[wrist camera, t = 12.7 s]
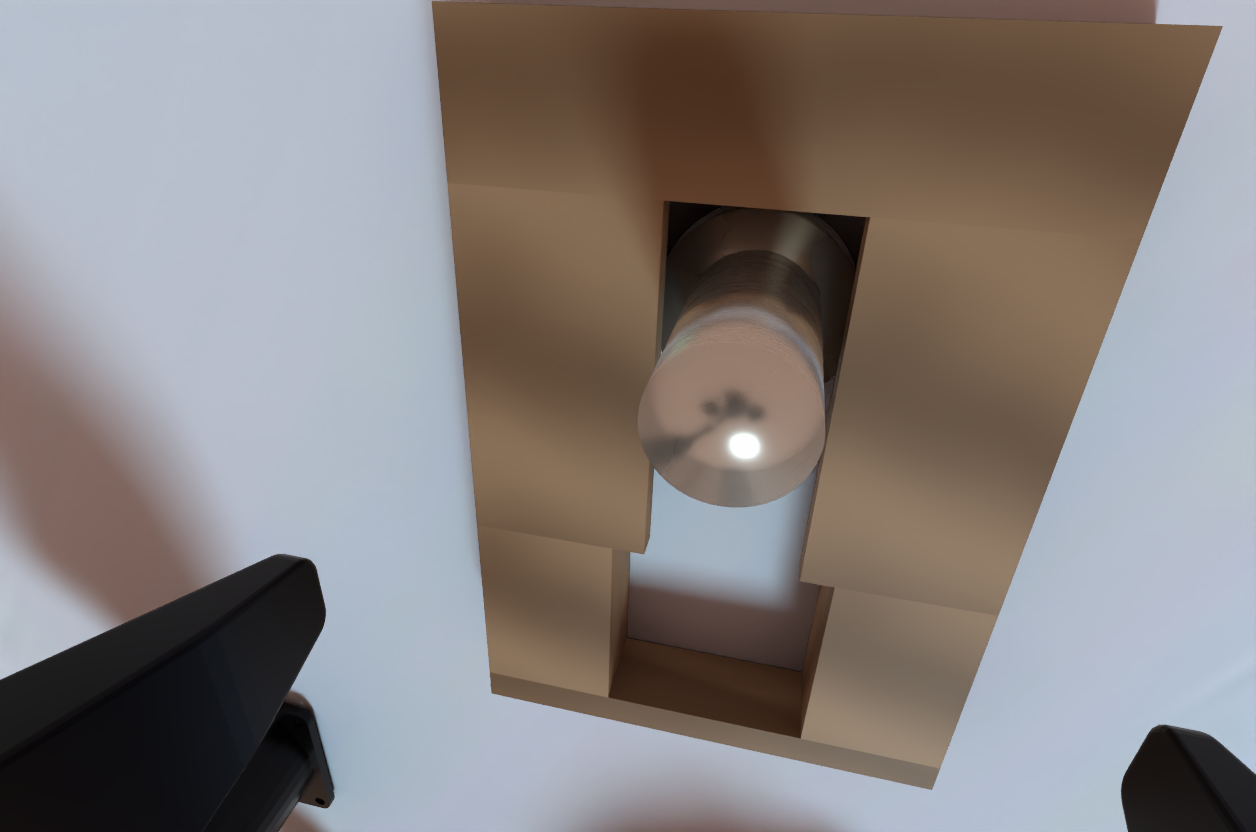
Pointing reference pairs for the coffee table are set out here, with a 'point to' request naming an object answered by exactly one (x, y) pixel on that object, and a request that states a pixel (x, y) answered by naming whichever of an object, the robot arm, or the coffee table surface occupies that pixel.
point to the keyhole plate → (872, 343)
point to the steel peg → (746, 354)
